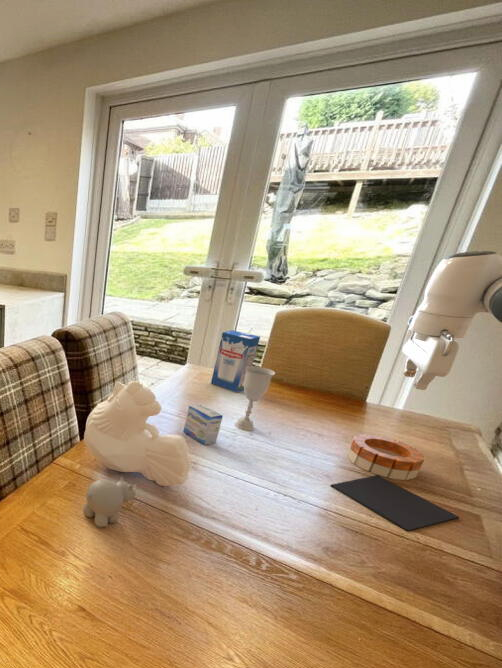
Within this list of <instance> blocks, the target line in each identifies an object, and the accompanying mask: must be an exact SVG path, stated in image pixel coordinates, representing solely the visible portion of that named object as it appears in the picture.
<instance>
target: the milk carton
mask: <svg viewBox="0 0 502 668" xmlns="http://www.w3.org/2000/svg"><path fill="white" fill-rule="evenodd" d="M260 339H261V336H260V335H255V334H251V333H248V332H247V333H246V332H242V331H237V330H233V329H232V330H228V331H223V332H222V333H221V338H220V342H219V345H218V350H217V354H216V359H215V362H214V366H213V367H214V368H213V372H212V377H211V380H210V384H211V383H213V384H212V385H214V384H215V385H214V386H217V385H218V386H217V387H219V388H222V387H223V389H225V388H226V390H228V389H229V391H231V390H232V391H231V392H234V391H235V392H234V393H239V392H241V390H242V391H244V380H245V376H246V372H247V371H246V367H247V366H254V362H255V357H256V353H257V350H258V346H259V342H260ZM238 391H239V392H238Z"/></svg>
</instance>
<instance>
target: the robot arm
mask: <svg viewBox="0 0 502 668" xmlns="http://www.w3.org/2000/svg"><path fill="white" fill-rule="evenodd" d="M478 313H486V314H487V313H489V314H490V315H492V316H493V317H494V318H495V319H496V320H497V321H498V322H499V323H501V324H502V255H500V254H499V253H498V252H497V251H492V250H482V251H479V250H475V251H464V252H457V253H453V254H450V255H448V256H446V257H444V258H443V259H442V260H441V261H440V262H439V264H438V265H437V267H436V268H435V269H434V271H433V273H432V275H431V276H430V279H429V281H428V282H427V285H426V288H425V291H424V298H423V301H422V302H421V304H420V305H419V306H418V307H417V309H416V312H415V313H414V314H413V315H410V317H409V319H408V321H407V326H409V327H408V329H407V330H406V334H405V337H404V340H403V344H402V347H401V348H402V349H401V351H402V353H403V355H405V357H406V361H405V366H404V370H403V372H402V374H403V375H404V376H405V377H407V378H414V377H415V376H416V374H417V369H419V370H420V374H419V377H418V379H415V381H414V384H413V387H414V388H415V389H416V390H420V391H426V390H427V389H428V386H429V385H430V383H431V382H432V381H434V379H436V377H439V378H445V377H447V376H448V375H449V374H450V372H451V370H452V368H453V365H454V362H455V360H456V358H457V356H458V355H457V354H458V353H459V348H460V347H459V346H460V345H459V343H458V342H457V341H456V340H455V339H463V338H465V337H466V335H467V332H468V331H469V328H470V327H471V324H472V322H473V320H474V318H475V316H476V314H478Z"/></svg>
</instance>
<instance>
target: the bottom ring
mask: <svg viewBox="0 0 502 668" xmlns="http://www.w3.org/2000/svg"><path fill="white" fill-rule="evenodd" d="M370 448H372V449H375V450H377V451H379V452H381V453H385V454H388V455H392V456H398V457H402V456H400V455H398V454H396V453H393V452H391V451H388V450H384V449H381V448H375V447H370ZM346 457H347V459H348V460H349V461H350V462H351V463H352V464H354V465H355V466H357V467H358V468H361V469H363V470H365V471H366V472H370V473H371V474H374V475H379V476H381V477H383V478H387V477H388V478H389V479H394V480H400V481H408V480H413V479H416V478H417V476H418V474H419V472H420V470H421V468H420V469H419V470H414V471H409V470H408V471H403V470H395V469H393V468H392V467H391V469H390V468H387V467H383V466H380V465H377V464H375V462H373V463H371V462H369V461H367V460H365V459H363V458H361V457H359V455H356V454H355V453H354V452H353V451H352V450H351V446H350V447H349V450H348V452H347V455H346Z"/></svg>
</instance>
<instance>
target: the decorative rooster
mask: <svg viewBox="0 0 502 668" xmlns="http://www.w3.org/2000/svg"><path fill="white" fill-rule="evenodd" d="M161 412H162V405H161V404H160V402H159V401H158V400H157V396H156V395H155V393H154V392H153V391H152V390H151V389H150V388H149V387H147V386H144V384H142V383H141V382H139V381H137V380H132V381H130V382H128V384H124V383H122V382H120V381H116V382H115V384H114V386H113V392H112V394H111V395H110V396H108V398H107V400H104V401H102V402H98V403H97V405H96V406H95V407H94V408H93V409H92V411H90V413H89V414H88V416H87V419H86V423H85V431H84V434H83V441H84V445H85V447H86V449H87V450H88V452H89V453H90V455H91V456H92V457H93V458H94V460H95V461H96V462H98V463H99V464H100V465H102V466H103V467H104V468H105V467H106V468H107V469H110V470H112V471H116V472H123V473H140V474H141V475H142V476H143V477H145V478H146V479H147V480H149V481H151V482H153V481H155V483H156V484H158V485H159V486H162V487H165V486H166V487H167V486H168V487H169V486H177V485H182V484H184V483H186V482H187V480H188V478H189V475H188V474H189V472H190V471H191V467H192V460H191V457H190V455H189V451H190V449H189V448H190V447H189V445H188V444H187V440H186V439H185V438H184V437H183V436H182V435H180V434H167V435H166V434H165V435H160V431H159V429H158V427H157V426H156V425H155V424H153V423H151V422H147V421H148V419H149V417H154V416H158V415H159V414H160V413H161Z"/></svg>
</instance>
